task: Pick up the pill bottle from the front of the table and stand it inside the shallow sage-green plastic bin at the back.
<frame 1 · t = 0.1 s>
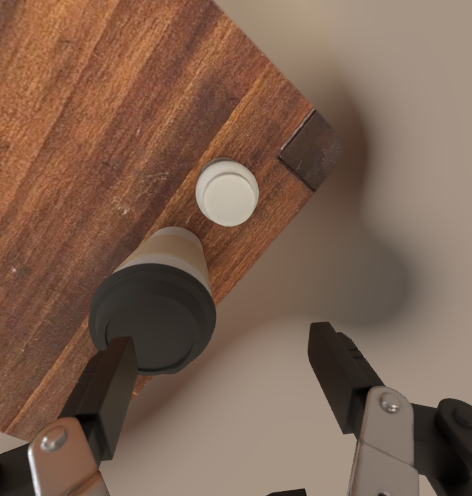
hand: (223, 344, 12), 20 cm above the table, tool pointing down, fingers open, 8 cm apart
pill bottle: (223, 183, 29), on the table
coffee cup: (174, 253, 32), on the table
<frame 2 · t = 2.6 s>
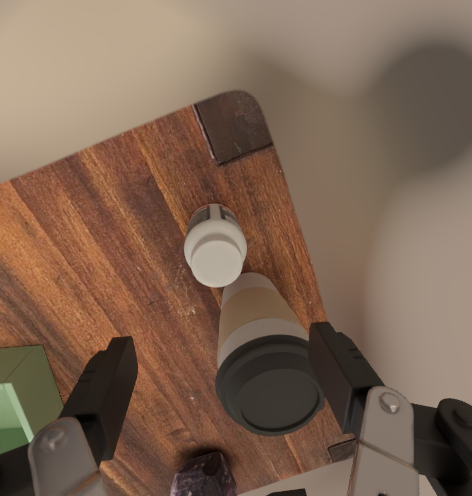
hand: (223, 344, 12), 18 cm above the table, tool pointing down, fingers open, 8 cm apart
bin: (1, 391, 34), on the table
mineral specimen: (204, 461, 44), on the table
pill bottle: (213, 226, 29), on the table
coffee cup: (249, 296, 33), on the table
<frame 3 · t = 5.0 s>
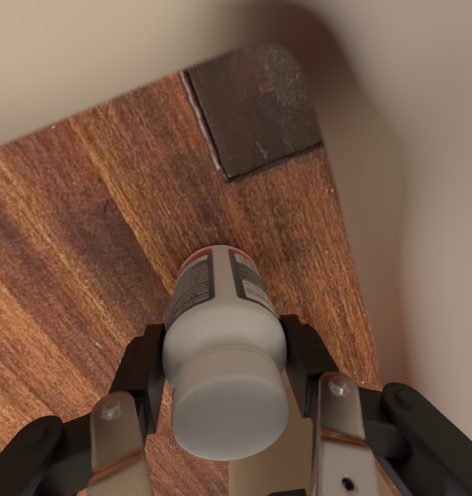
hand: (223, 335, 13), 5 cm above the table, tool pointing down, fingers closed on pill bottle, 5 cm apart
pill bottle: (218, 279, 18), on the table, touching gripper
coffee cup: (271, 377, 22), on the table
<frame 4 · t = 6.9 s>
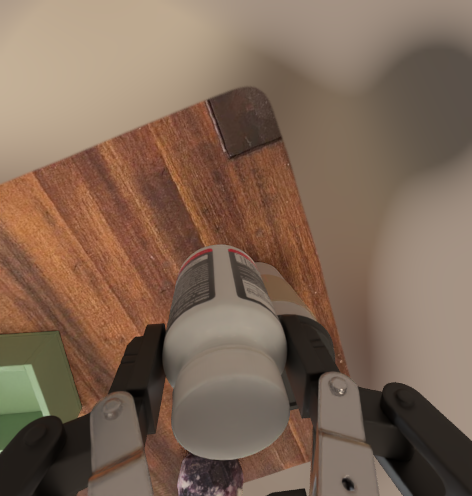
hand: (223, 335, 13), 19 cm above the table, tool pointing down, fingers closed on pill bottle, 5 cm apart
bin: (18, 375, 36), on the table
mineral specimen: (211, 448, 45), on the table
pill bottle: (219, 278, 18), point 14 cm above the table, touching gripper
coffee cup: (256, 286, 34), on the table
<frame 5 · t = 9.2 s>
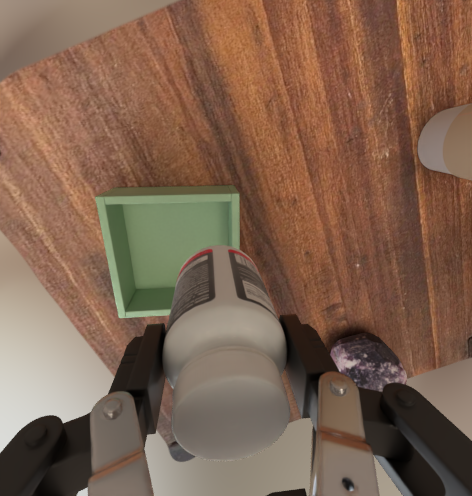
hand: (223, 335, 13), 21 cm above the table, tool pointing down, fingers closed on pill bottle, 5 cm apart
bin: (180, 241, 33), on the table
mineral specimen: (348, 347, 43), on the table
pill bottle: (219, 279, 18), point 16 cm above the table, touching gripper
coffee cup: (443, 140, 32), on the table
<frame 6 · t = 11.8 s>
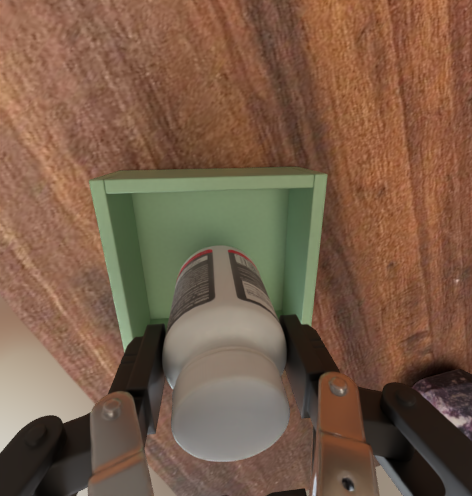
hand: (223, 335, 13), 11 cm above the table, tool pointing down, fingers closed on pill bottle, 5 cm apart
bin: (214, 251, 23), on the table
mineral specimen: (428, 386, 32), on the table
pill bottle: (219, 279, 18), point 5 cm above the table, touching gripper
when the fingers open (6 cm above the table, at t = 13.6 s): pill bottle stays where it is, resting on bin.
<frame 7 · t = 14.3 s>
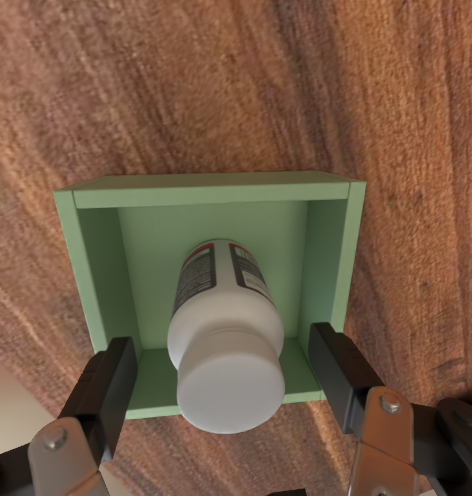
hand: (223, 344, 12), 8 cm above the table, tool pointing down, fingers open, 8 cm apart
bin: (218, 270, 19), on the table
pill bottle: (220, 272, 19), resting on bin
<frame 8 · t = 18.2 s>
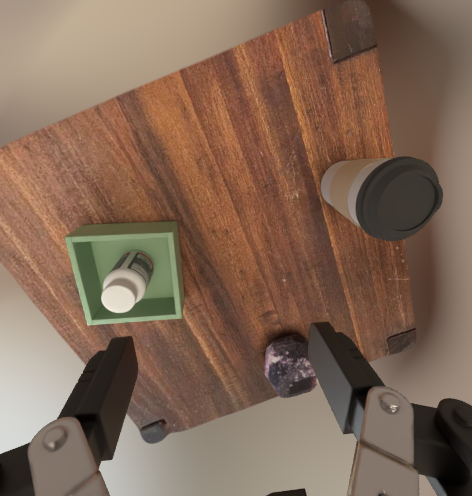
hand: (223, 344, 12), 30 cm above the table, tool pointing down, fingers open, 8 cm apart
bin: (137, 264, 42), on the table
mineral specimen: (284, 346, 52), on the table
pill bottle: (137, 265, 42), resting on bin
coffee cup: (341, 184, 41), on the table
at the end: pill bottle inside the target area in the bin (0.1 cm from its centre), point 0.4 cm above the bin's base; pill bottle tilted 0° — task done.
